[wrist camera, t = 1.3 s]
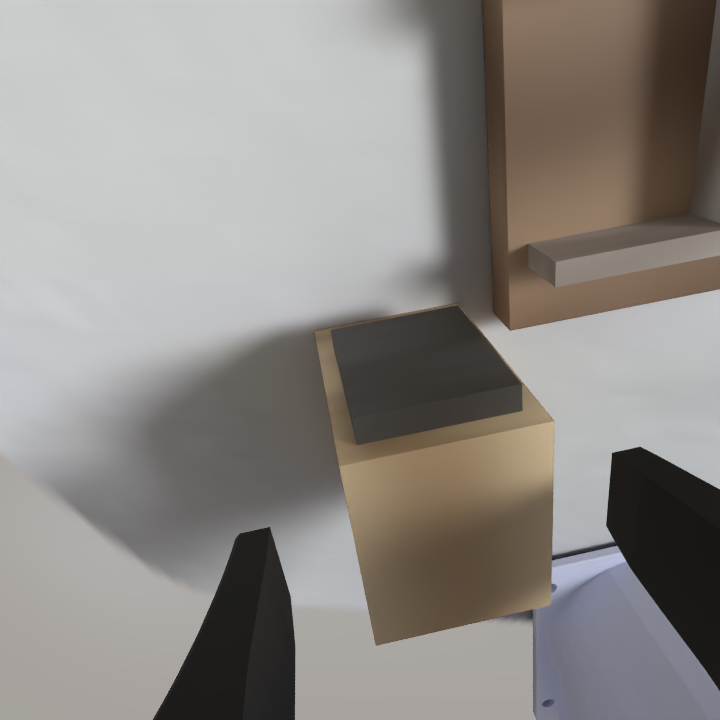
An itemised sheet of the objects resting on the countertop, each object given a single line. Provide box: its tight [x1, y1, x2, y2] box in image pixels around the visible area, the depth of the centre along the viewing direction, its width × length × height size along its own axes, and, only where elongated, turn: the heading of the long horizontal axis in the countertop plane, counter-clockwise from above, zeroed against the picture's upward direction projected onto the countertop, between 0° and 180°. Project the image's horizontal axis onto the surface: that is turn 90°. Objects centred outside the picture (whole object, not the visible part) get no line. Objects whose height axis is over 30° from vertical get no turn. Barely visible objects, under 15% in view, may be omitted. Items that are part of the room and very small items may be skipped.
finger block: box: [314, 303, 555, 645], centre depth 14 cm, size 4×6×6 cm
